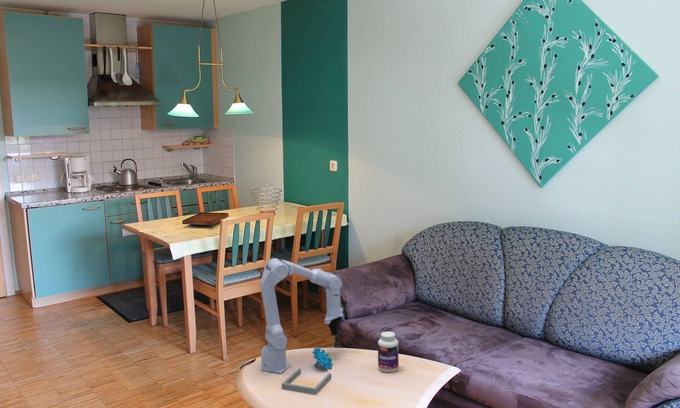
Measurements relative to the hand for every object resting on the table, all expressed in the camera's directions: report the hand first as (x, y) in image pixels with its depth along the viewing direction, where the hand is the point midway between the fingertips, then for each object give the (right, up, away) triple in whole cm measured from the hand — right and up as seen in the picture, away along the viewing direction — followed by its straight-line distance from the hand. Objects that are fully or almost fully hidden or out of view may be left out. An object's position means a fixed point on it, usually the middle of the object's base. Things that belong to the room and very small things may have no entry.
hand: (334, 334), depth 247 cm
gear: (-4, -11, -9) cm, 15 cm away
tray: (-10, -13, -22) cm, 28 cm away
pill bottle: (+21, -11, -13) cm, 27 cm away
